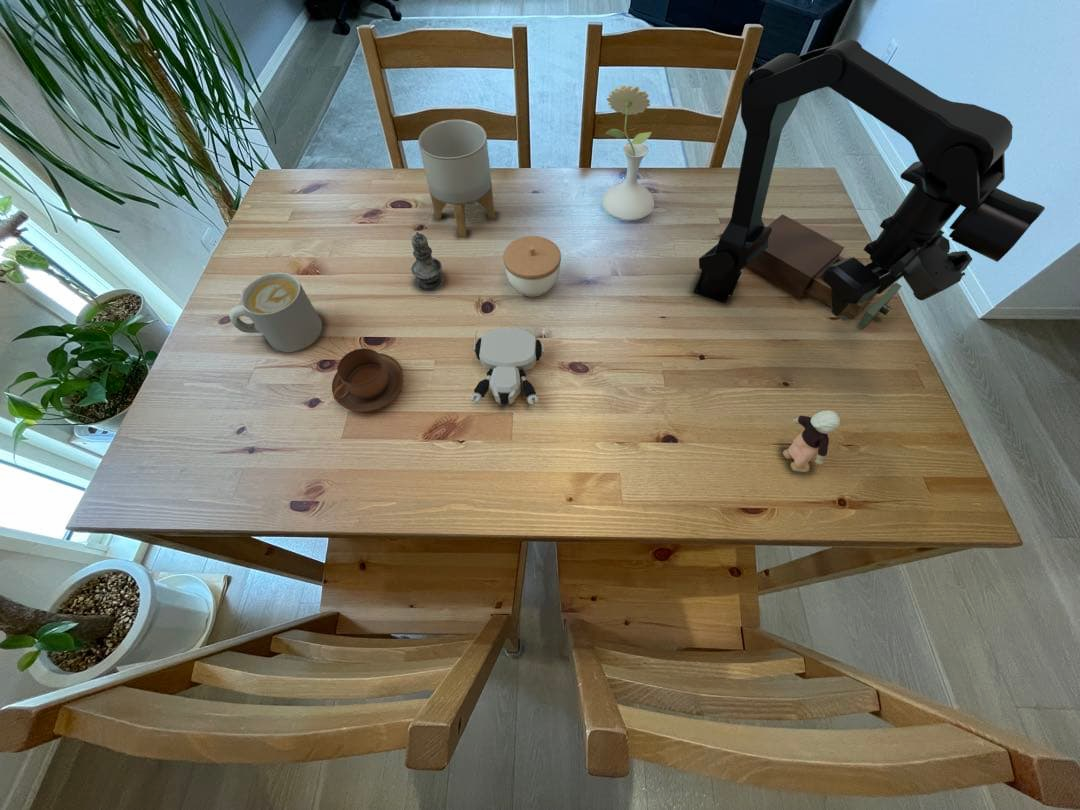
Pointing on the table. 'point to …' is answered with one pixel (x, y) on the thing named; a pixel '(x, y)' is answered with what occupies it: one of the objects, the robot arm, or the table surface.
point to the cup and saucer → (366, 380)
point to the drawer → (824, 294)
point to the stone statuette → (425, 265)
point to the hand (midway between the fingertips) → (856, 303)
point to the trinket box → (532, 264)
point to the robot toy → (507, 363)
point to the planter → (457, 168)
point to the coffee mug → (278, 312)
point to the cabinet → (793, 256)
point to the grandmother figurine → (812, 439)
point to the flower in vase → (629, 160)
